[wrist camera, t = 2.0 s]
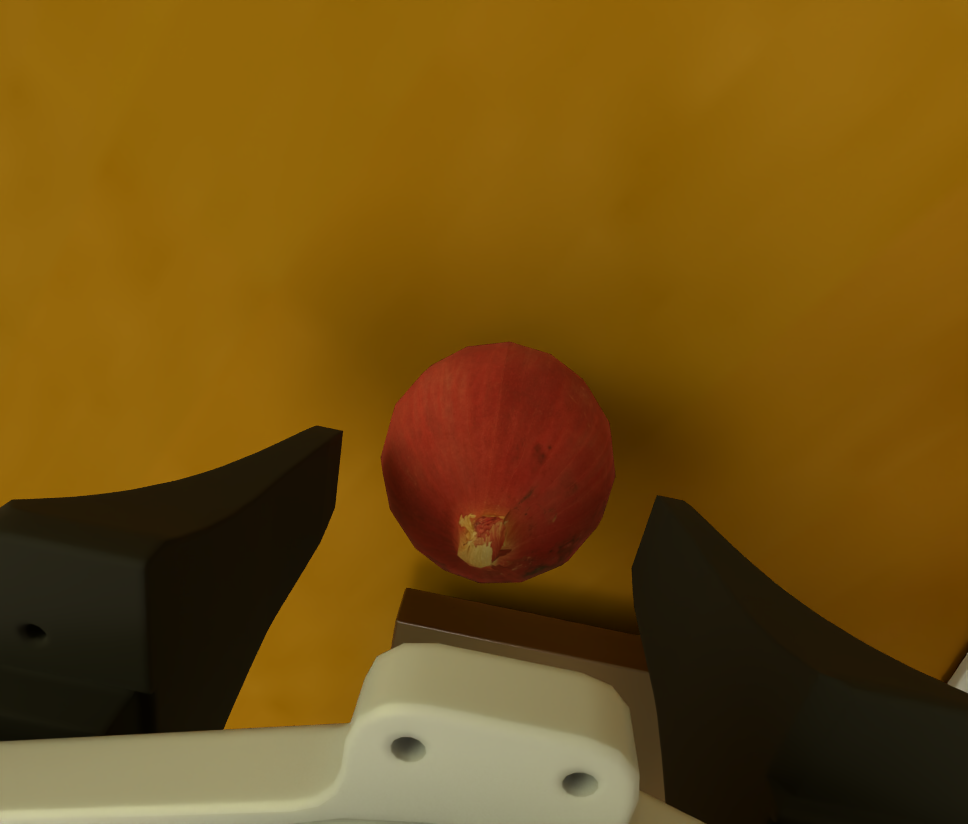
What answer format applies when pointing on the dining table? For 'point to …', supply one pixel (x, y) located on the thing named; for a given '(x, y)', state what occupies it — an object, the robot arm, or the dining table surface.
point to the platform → (545, 656)
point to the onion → (498, 463)
